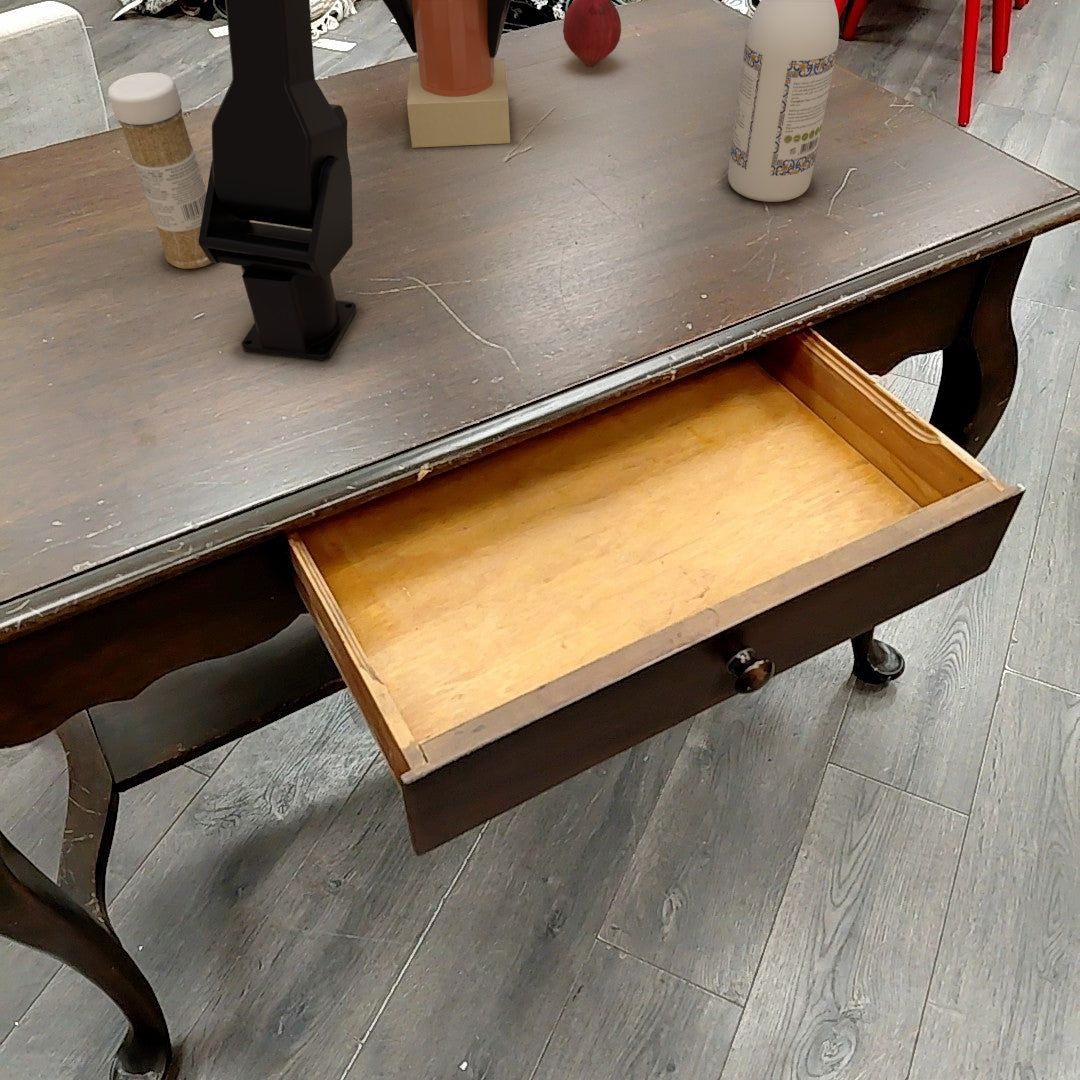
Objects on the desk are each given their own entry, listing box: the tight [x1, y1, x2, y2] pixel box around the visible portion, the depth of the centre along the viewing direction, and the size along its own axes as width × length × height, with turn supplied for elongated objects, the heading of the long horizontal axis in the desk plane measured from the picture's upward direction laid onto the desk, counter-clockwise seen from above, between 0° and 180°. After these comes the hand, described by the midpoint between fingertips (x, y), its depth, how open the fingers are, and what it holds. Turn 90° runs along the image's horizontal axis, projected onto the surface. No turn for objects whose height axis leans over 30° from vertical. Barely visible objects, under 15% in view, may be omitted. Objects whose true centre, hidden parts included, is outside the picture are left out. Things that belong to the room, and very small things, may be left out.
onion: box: [562, 0, 622, 68], centre depth 97 cm, size 6×6×8 cm
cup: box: [411, 0, 495, 97], centre depth 86 cm, size 7×7×8 cm
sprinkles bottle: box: [107, 71, 213, 270], centre depth 72 cm, size 5×5×14 cm
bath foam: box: [727, 0, 840, 203], centre depth 75 cm, size 7×7×20 cm
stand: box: [406, 58, 511, 149], centre depth 90 cm, size 9×9×4 cm
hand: (455, 53), depth 87 cm, fingers closed on cup, 7 cm apart
